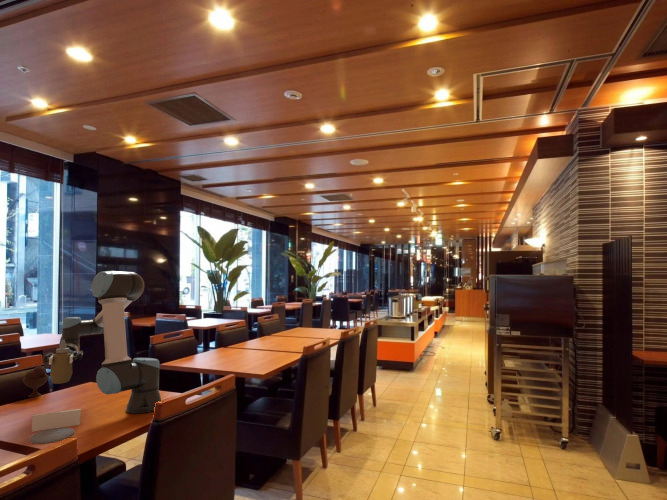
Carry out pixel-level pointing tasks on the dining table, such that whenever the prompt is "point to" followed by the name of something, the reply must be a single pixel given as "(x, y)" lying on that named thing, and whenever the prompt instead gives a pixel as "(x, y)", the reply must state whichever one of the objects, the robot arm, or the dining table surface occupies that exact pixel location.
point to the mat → (51, 435)
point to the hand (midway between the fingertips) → (60, 360)
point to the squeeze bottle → (61, 365)
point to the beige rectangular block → (56, 419)
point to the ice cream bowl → (35, 379)
